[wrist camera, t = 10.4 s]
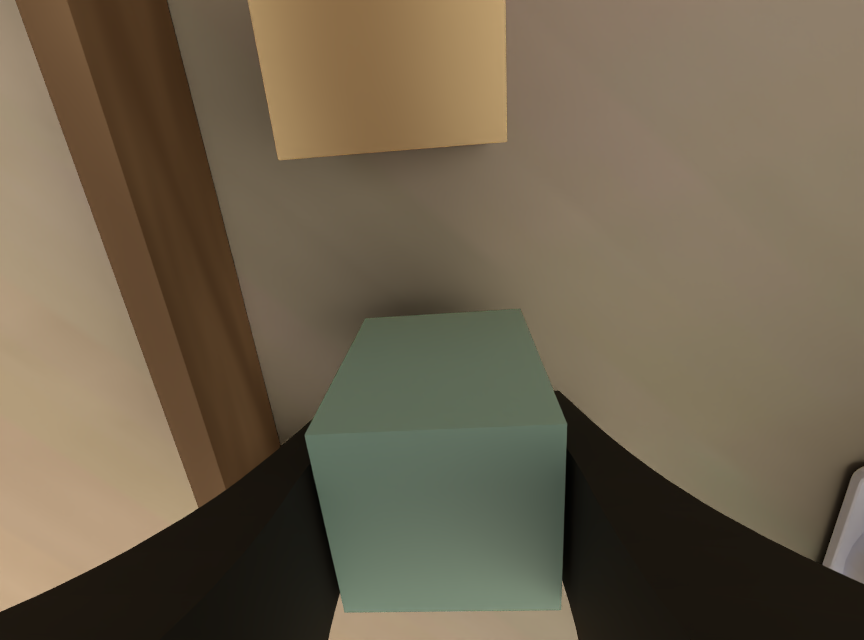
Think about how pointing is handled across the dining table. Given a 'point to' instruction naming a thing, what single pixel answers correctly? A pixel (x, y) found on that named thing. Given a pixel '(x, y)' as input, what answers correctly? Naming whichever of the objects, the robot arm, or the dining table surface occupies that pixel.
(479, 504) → the teal block
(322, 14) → the oak block
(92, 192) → the corral
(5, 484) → the dining table surface
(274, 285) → the dining table surface
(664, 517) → the robot arm
